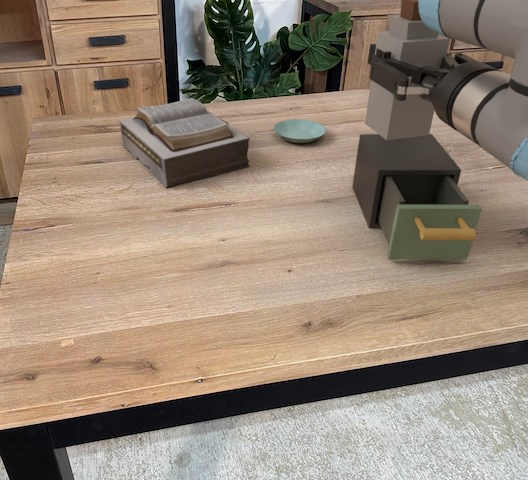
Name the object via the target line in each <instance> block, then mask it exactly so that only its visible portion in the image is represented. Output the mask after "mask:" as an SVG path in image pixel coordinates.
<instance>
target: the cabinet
mask: <svg viewBox="0 0 528 480" xmlns="http://www.w3.org/2000/svg"><path fill="white" fill-rule="evenodd" d="M461 174H462V169H461V168H460V167H459V165H458V164H457V163H456V161H455V160H454V159H453V158H452V156H451V155H450V154H449V153H448V152H447V150H446V149H445V148H444V147H443V146H442V145H441V143H440V142H439V141H438V140H437V139H436V137H435V136H434V135H433V134H432V133H429V135H426V136H418V137H409V138H401V139H392V140H386V139H384V138H383V137H382V136H380V135H379V134H378V133H367V134H365V133H364V134H363V133H360V134H359V138H358V145H357V151H356V159H355V165H354V172H353V180H352V186H351V187H352V191H353V193H354V195H355V197H356V200H357V203H358V205H359V207H360V210H361V212H362V216H363V217H364V220H365V222H366V224H367V228H368V229H382V228H381V226H380V224H379V222H378V219H377V217H376V215H377V209H378V203H379V198H380V192H381V186H382V181H383V175H449V176H450V177H451V178H452V179H453V181H454V182H455V183H456V185H457V186H458V185H459V181H460V177H461Z"/></svg>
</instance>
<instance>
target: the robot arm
mask: <svg viewBox="0 0 528 480" xmlns="http://www.w3.org/2000/svg"><path fill="white" fill-rule="evenodd" d="M418 7H419V14H420V17H421V19H422V21H423V23H424V24H425V25H426V26H427V27H428V28H430V29H431V30H433V31H435V32H437V33H439V35H441V36H444V37H446V38H449V39H450V40H456V41H458V42H462V43H465V44H468V45H472V46H474V47H477V48H481V49H483V50H488V51H491V52H493V53H496V54H499V55H502V56H505V57H508V58H511V59H514V63H513V67H512V71H511V74H509V73H507V72H505V71H502V70H499V69H497V68H495V67H493V66H491V65H489V64H487V63H485V62H481V61H478V60H476V59H474V58H472V57H470V56H468V55H466V54H465V53H462V52H458V53H455V55H454V56H452V55H451V54H450V53H448V52H447V54H446V57H443V58H442V63H441V67H440V69H436V68H433V67H430V66H423V67H417V66H414V65H411V64H408V63H405V62H402V61H399V60H396V59H393V58H391V53H392V52H390V51H385V52H384V51H382V50H380V49H378V48H377V50H376V43H370V44H369V51H368V57H367V64H368V65H370V71H369V78H368V79H369V80H370V81H371V80H372V81H374V82H375V83H377V84H378V85H380V86H381V87H383V88H385V89H386V90H388V91H389V92H391V93H392V94H394V96H395V98H396V100H399V101H404V100H406V97H409V94H415V95H419V96H420V98H421V99H424V100H427V101H429V102H431V103H432V105H433V107H434V113H435V114H436V116H437V118H438V119H439V120H440V121H441V122H443V123H444V124H446V125H447V126H448V127H449V128H451V129H453V130H454V131H456V132H458V133H459V134H461V135H462V136H464V137H465V138H467V139H468V140H470V141H471V142H473V143H474V144H475V145H477V146H478V147H479V148H481V149H482V150H483V151H485V152H486V153H488V154H489V155H490V156H492V157H494V159H495V160H497V161H498V162H500V163H501V164H503V165H504V166H505V167H507V168H508V169H509V170H511V172H512V173H513V174H514V175H515V176H518V177H519V178H522V179H523V180H525V181H527V182H528V0H419V2H418ZM375 50H376V55H375Z"/></svg>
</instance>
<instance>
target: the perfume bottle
mask: <svg viewBox="0 0 528 480" xmlns="http://www.w3.org/2000/svg"><path fill="white" fill-rule="evenodd" d="M418 2H419V0H401V2H400V13H398V14H396V13H395V14H387V23H388V30H380V31H377V35H376V36H377V37H376V43H375V44H376V50H377V48H378V49H380V50H382V51H384V52H385V51H390V52H392V53H391V58H393V59H396V60H399V61H402V62H405V63H408V64H411V65H414V66H417V67H423V66H430V67H433V68H436V69H440V67H441V63H442V58H443V57H446V54H447V53H448V49H449V45H450V40H451V39H449V38H446V37H444V36H443V35H441V34H439V33H437V32H435V31H433V30H431V29H430V28H428V27H427V26H426V25H425V24H424V23H423V21H422V19H421V17H420V14H419V7H418ZM376 50H375V55H376ZM434 114H435V110H434V107H433V105H432V103H431V102H429V101H427V100H424V99H421V98H420V96H419V95H415V94H409V97H406V100H404V101H399V100H396V98H395V96H394V94H392V93H391V92H389V91H388V90H386V89H385V88H383V87H381V86H380V85H378V84H377V83H375V82H374V81H372V80H371V79H370V86H369V91H368V99H367V105H366V114H365V121H364V124H365V125H366V126H368V127H369V128H370V129H371V130H372V131H374V132H375V134H379V135H380V136H382V137H383V138H384V139H386V140H392V139H401V138H409V137H418V136H426V135H429V134H431V133H430V132H431V127H432V123H433V118H434Z"/></svg>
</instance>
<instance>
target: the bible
mask: <svg viewBox="0 0 528 480" xmlns="http://www.w3.org/2000/svg"><path fill="white" fill-rule="evenodd" d="M118 122H119V127H120V135H121V140H122V147H124V148H125V149H126V151H129V152H130V154H131V156H132V157H134V158H135V159H137V160H139V162H140V163H141V164H142V165H144V166H145V167H146V168H149V170H150V171H151V173H153V175H154V177H155V178H156V179H157V180H158V181H159V182H160V183H161V184H162V185H163V186H164V188H165V189H167V188H169V187H172V186H173V187H174V186H178V185H180V184H181V185H182V184H184V183H185V184H186V183H192V182H193V181H196V180H200V179H205V178H210V177H216V176H218V174H221V173H222V174H224V173H230V172H232V171H237V170H239V169H243V168H246V167H247V168H248V167H250V164H249V163H250V160H249V158H248V152H249V146H250V143H249V142H250V140H251V139H250V137H249V136H247V134H245V133H244V132H241V131H240V130H239V129H237V128H235V126H232V125H231V124H230V123H229V122H228V121H227V120H224V119H222V118H220V117H218V116H217V115H215V114H214V113H212V112H210V111H208V109H207V107H206V106H205V105H204V103H202V102H201V101H199V100H196V99H195V98H192V97H189V98H186V99H183V100H179V101H174V102H170V103H164V104H159V105H158V104H157V105H151V106H140V107H137V108H136V112H135V116H131V117H128V118H122V119H119V121H118Z"/></svg>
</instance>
